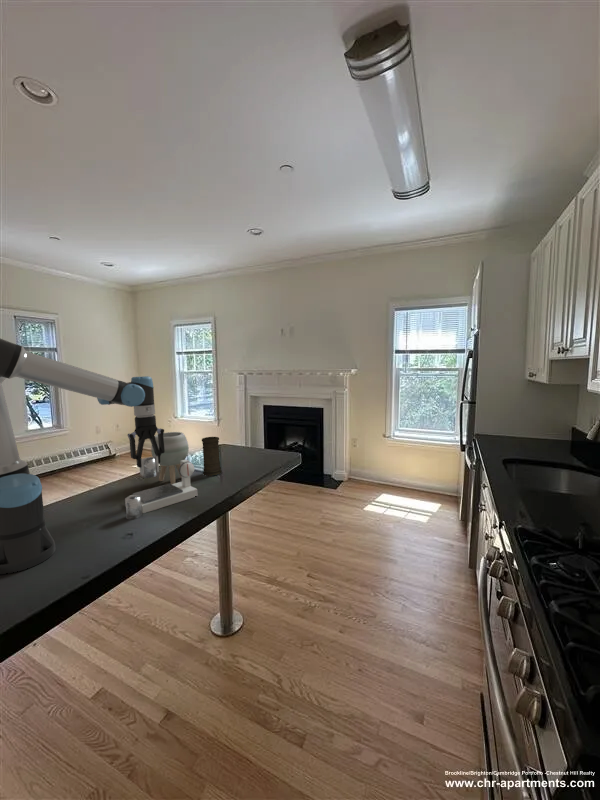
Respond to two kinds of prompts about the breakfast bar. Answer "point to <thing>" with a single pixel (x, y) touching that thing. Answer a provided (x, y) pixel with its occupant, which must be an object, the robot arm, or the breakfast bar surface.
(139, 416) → the robot arm
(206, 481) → the breakfast bar surface
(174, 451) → the planter
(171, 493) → the pan
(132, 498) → the spacer
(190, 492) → the scale
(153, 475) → the spacer
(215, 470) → the container
